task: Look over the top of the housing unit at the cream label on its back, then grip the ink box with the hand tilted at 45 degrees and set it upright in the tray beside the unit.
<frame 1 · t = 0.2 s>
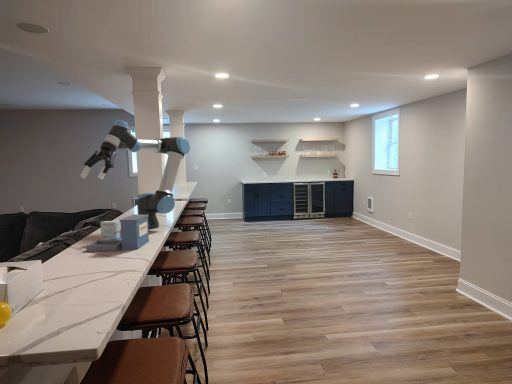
hand: (91, 177, 164), 36 cm above the counter, tool tilted 35°, fingers open, 13 cm apart
ink box: (111, 243, 173), on the counter
tray: (106, 248, 161), on the counter
housing unit: (136, 245, 167), on the counter
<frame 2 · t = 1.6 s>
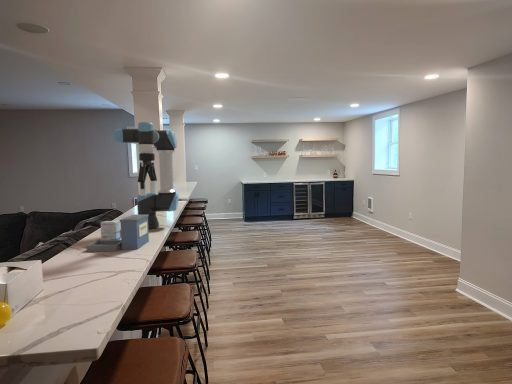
hand: (148, 194, 164), 27 cm above the counter, tool pointing down, fingers open, 13 cm apart
nothing on the counter moved.
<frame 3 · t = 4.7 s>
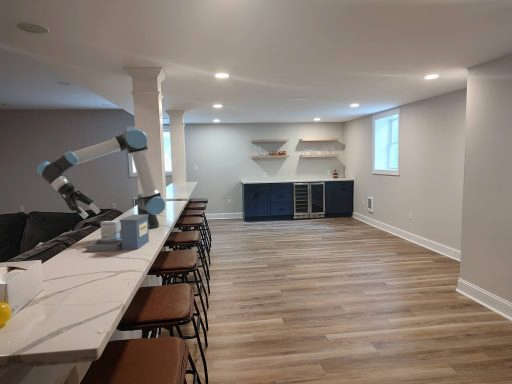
hand: (92, 214, 171), 15 cm above the counter, tool tilted 45°, fingers open, 13 cm apart
nothing on the counter moved.
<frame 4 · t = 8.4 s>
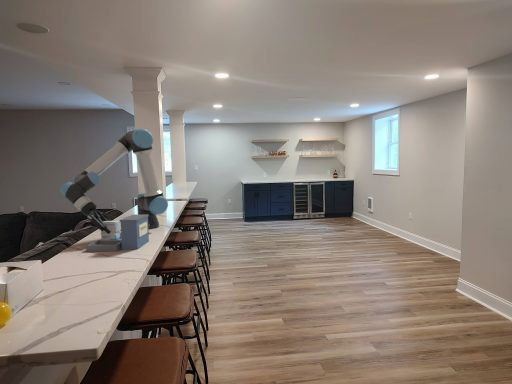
hand: (117, 235, 173), 4 cm above the counter, tool tilted 45°, fingers closed on ink box, 5 cm apart
ink box: (111, 242, 173), on the counter, touching gripper
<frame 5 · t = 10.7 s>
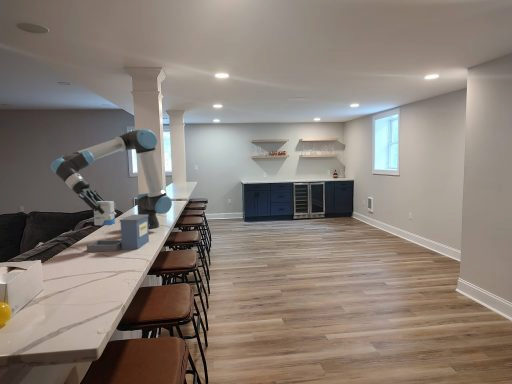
hand: (111, 216, 160), 16 cm above the counter, tool tilted 45°, fingers closed on ink box, 5 cm apart
ink box: (105, 224, 161), point 12 cm above the counter, touching gripper
when the fingers open (6 cm above the counter, at t = 13.2 s): ink box drops 1 cm, resting on tray.
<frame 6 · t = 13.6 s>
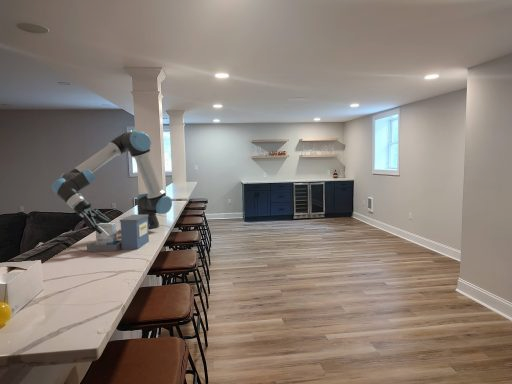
hand: (112, 234, 160), 7 cm above the counter, tool tilted 45°, fingers open, 10 cm apart
ink box: (107, 246, 161), point 1 cm above the counter, touching tray
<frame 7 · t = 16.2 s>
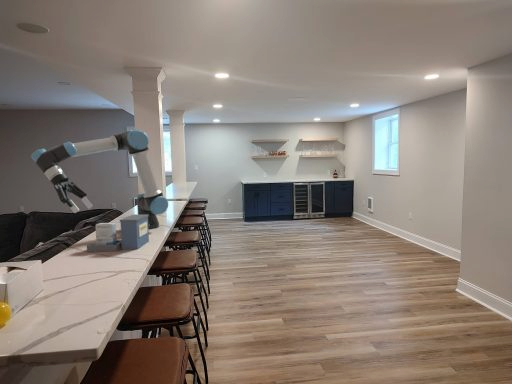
hand: (84, 209, 163), 19 cm above the counter, tool tilted 35°, fingers open, 13 cm apart
nothing on the counter moved.
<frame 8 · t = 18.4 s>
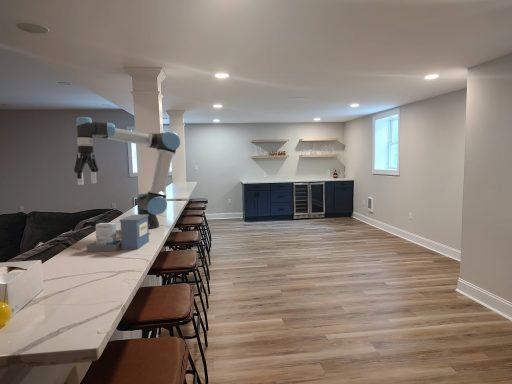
hand: (87, 184, 178), 32 cm above the counter, tool pointing down, fingers open, 13 cm apart
nothing on the counter moved.
at the end: ink box 0.4 cm off-centre on the tray, point 0.8 cm above the tray's base; ink box tilted 0°; the gripper is holding nothing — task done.
